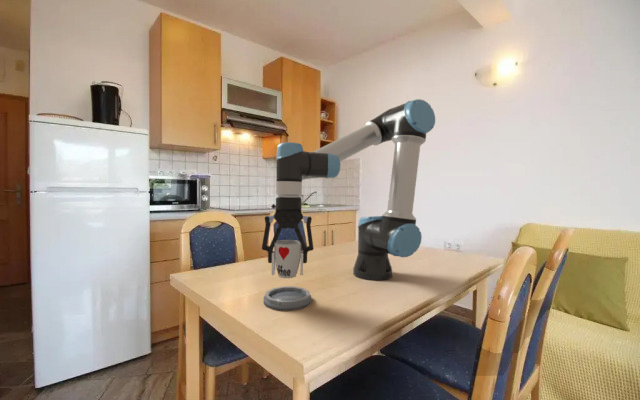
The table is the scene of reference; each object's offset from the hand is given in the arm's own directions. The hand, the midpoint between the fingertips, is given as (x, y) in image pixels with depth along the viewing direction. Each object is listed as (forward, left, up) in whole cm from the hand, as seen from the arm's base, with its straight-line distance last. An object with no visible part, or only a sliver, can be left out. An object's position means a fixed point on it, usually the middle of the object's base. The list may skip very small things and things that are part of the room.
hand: (287, 273), depth 86 cm
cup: (0, 0, -1) cm, 1 cm away
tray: (0, 0, -8) cm, 8 cm away
